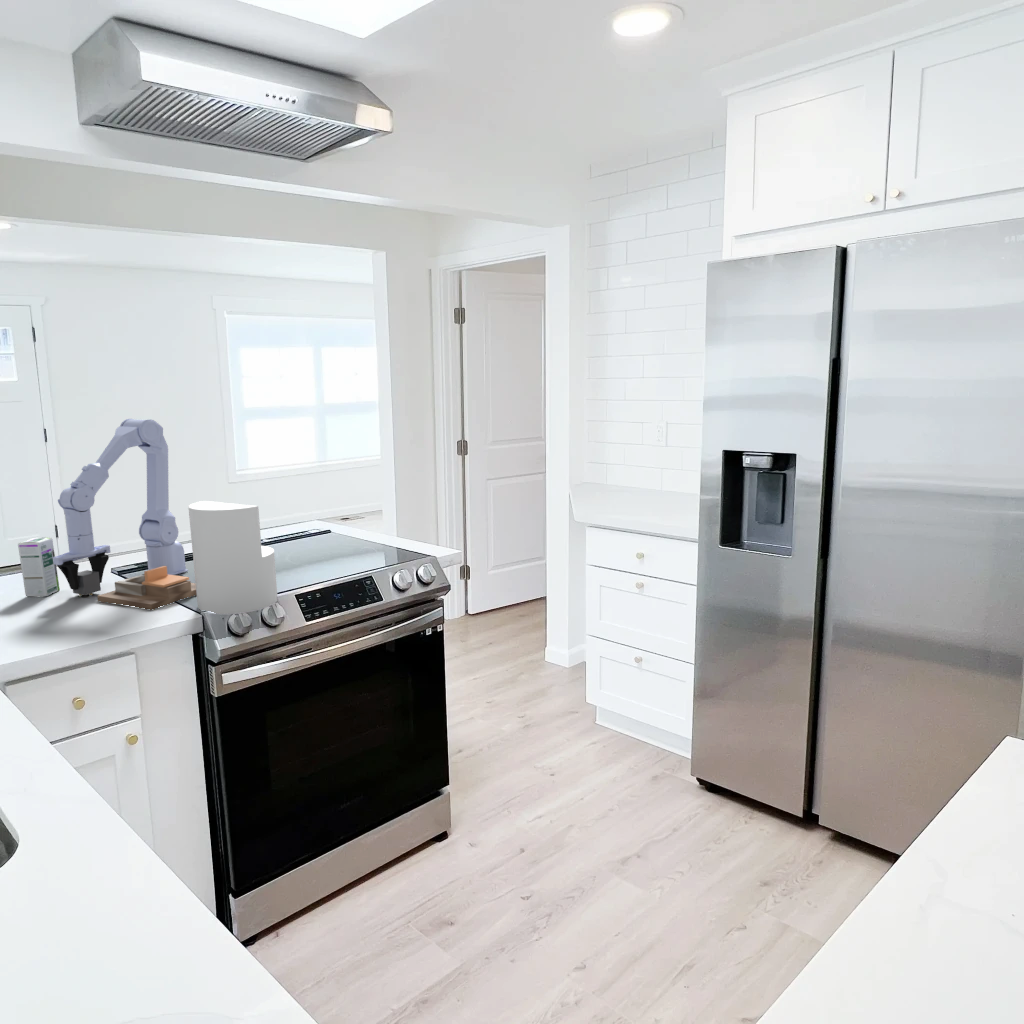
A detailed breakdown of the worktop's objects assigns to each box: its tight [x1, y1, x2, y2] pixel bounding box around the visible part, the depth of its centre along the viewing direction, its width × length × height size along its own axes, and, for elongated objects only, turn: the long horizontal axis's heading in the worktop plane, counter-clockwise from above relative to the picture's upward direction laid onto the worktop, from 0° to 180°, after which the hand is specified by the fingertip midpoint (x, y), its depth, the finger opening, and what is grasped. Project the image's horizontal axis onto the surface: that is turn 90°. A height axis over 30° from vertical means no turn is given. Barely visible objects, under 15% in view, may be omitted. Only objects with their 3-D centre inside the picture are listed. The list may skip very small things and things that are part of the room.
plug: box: [72, 569, 102, 597], centre depth 202 cm, size 4×7×6 cm, turn 65°
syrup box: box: [17, 537, 60, 597], centre depth 202 cm, size 6×6×14 cm
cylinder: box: [187, 500, 278, 615], centre depth 191 cm, size 19×19×25 cm
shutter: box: [142, 566, 190, 588], centre depth 197 cm, size 8×8×3 cm
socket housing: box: [97, 573, 197, 611], centre depth 200 cm, size 18×19×4 cm
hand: (86, 585), depth 202 cm, fingers open, 6 cm apart
